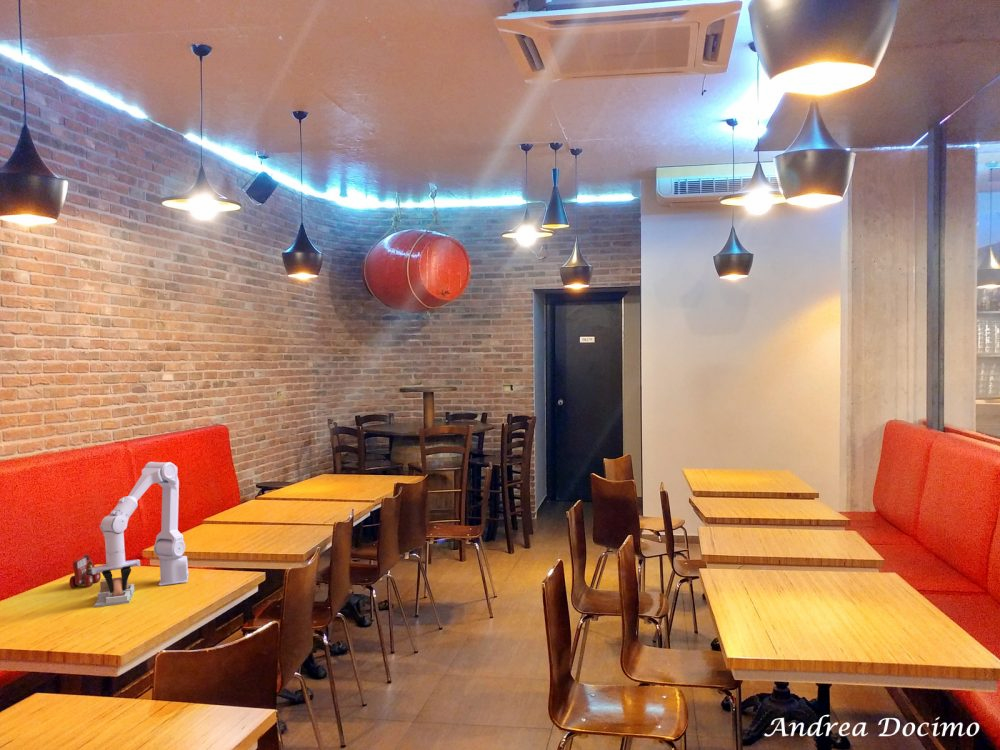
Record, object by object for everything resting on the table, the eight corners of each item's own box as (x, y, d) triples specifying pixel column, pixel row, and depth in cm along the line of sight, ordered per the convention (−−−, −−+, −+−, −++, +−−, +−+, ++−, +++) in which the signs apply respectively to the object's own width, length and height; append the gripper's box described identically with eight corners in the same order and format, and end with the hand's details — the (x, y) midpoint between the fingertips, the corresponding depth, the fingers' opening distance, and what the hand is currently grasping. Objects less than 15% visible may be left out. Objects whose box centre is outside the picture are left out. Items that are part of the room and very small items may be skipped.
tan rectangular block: (128, 591, 272) (127, 576, 271) (127, 593, 268) (126, 578, 268) (102, 594, 269) (101, 579, 269) (101, 597, 266) (100, 582, 266)
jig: (134, 591, 274) (133, 583, 274) (129, 602, 261) (128, 595, 261) (101, 595, 271) (101, 588, 270) (94, 607, 257) (93, 599, 257)
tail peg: (124, 596, 264) (123, 577, 264) (121, 599, 261) (120, 580, 261) (114, 596, 264) (113, 578, 264) (111, 599, 261) (110, 580, 261)
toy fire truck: (103, 579, 292) (102, 551, 291) (86, 589, 279) (84, 560, 279) (85, 579, 292) (83, 552, 291) (66, 590, 279) (65, 561, 279)
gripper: (136, 544, 270) (138, 583, 270) (89, 552, 261) (91, 593, 262) (140, 548, 264) (142, 588, 264) (92, 556, 255) (95, 597, 256)
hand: (117, 591), depth 263 cm, fingers closed on tail peg, 3 cm apart
